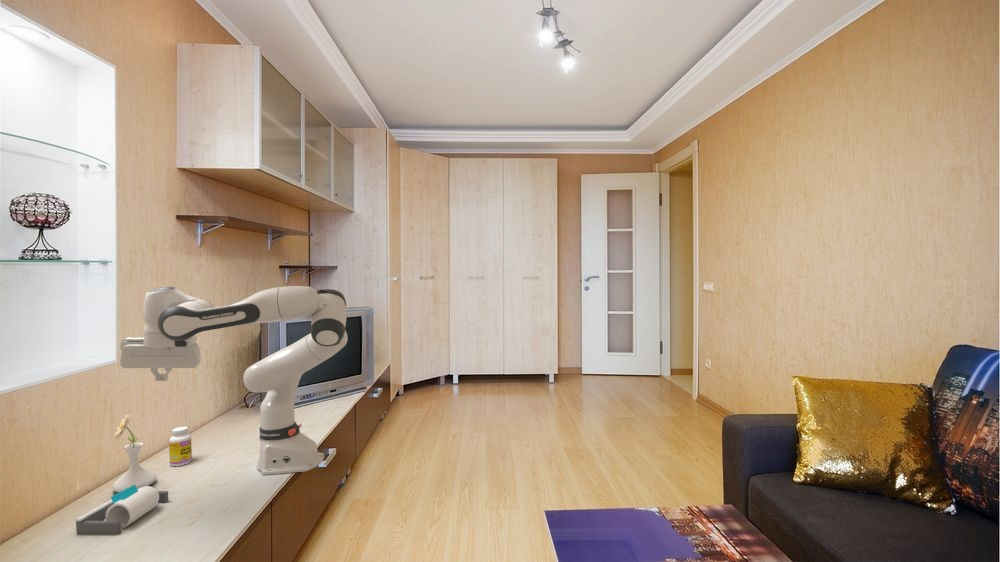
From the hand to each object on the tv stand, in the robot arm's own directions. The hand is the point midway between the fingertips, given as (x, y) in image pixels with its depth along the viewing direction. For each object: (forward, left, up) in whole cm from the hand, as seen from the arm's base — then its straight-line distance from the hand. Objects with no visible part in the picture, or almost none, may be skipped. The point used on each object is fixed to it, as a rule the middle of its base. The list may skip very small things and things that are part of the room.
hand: (161, 380), depth 140 cm
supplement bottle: (+13, -22, -36) cm, 44 cm away
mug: (0, +13, -37) cm, 39 cm away
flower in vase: (+14, -3, -36) cm, 39 cm away
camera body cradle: (+2, +13, -36) cm, 38 cm away
